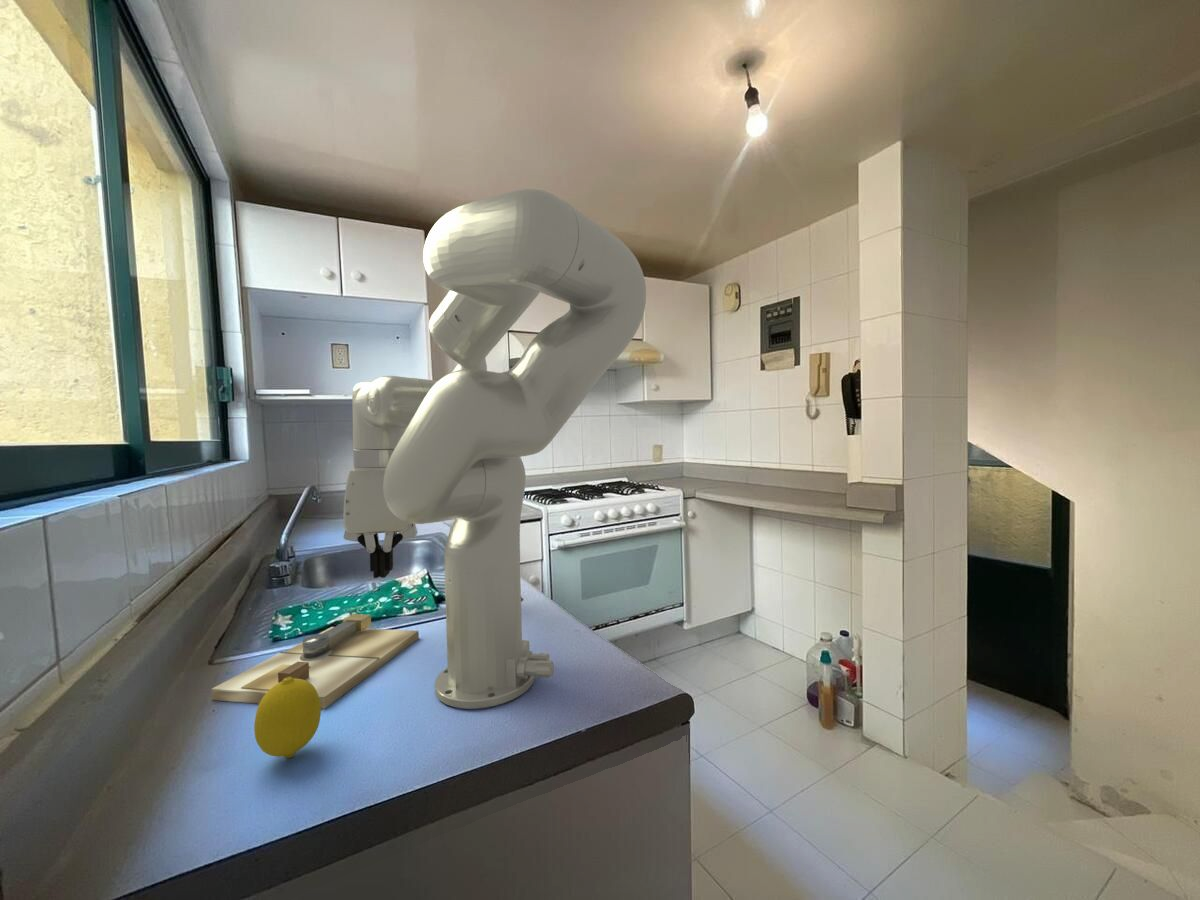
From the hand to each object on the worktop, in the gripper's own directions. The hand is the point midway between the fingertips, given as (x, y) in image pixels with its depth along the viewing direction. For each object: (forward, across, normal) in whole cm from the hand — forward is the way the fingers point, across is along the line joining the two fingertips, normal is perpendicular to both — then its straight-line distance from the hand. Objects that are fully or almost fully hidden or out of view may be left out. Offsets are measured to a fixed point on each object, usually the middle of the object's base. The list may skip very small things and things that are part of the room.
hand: (381, 575), depth 72 cm
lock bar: (+9, +6, +2) cm, 11 cm away
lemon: (+10, +1, +27) cm, 29 cm away
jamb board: (+11, +6, +6) cm, 14 cm away
